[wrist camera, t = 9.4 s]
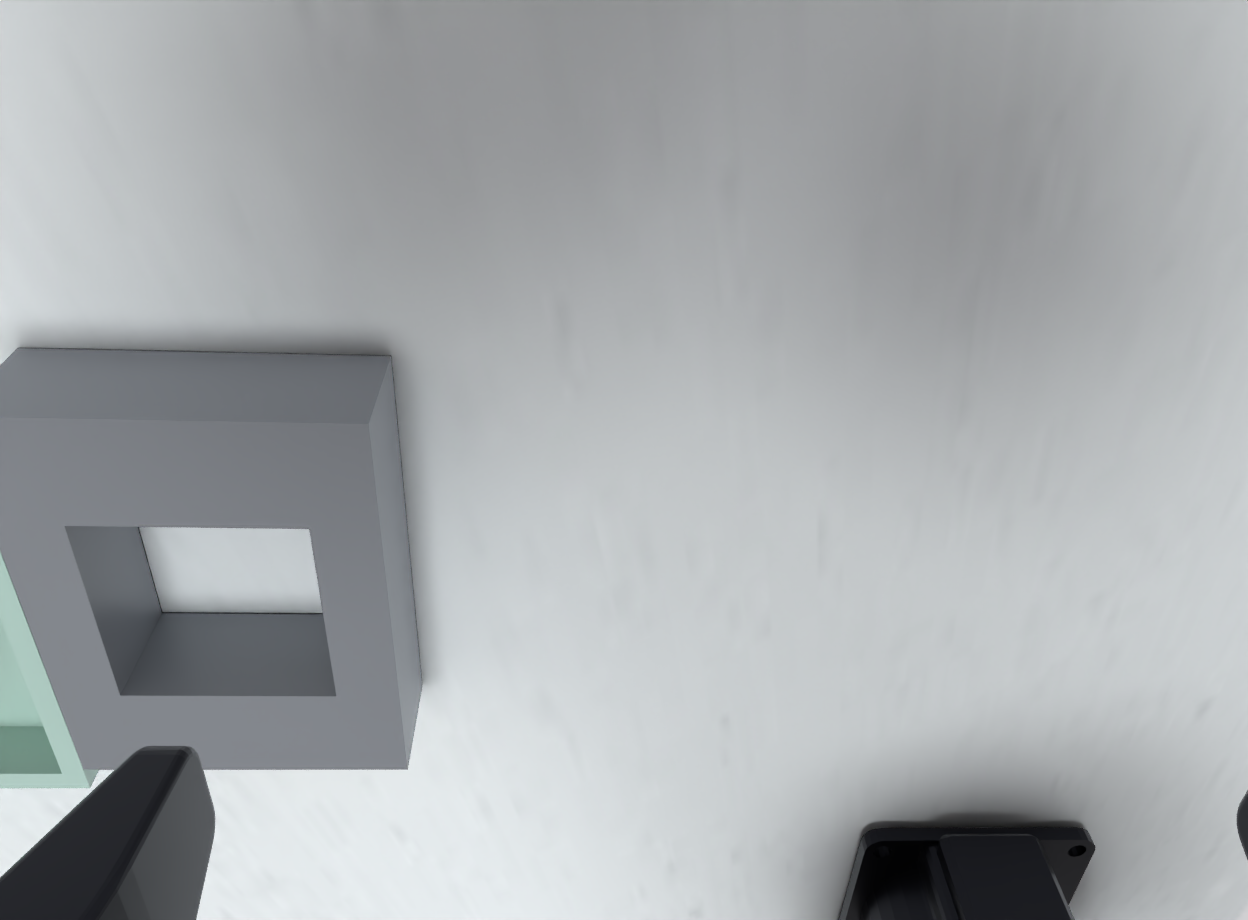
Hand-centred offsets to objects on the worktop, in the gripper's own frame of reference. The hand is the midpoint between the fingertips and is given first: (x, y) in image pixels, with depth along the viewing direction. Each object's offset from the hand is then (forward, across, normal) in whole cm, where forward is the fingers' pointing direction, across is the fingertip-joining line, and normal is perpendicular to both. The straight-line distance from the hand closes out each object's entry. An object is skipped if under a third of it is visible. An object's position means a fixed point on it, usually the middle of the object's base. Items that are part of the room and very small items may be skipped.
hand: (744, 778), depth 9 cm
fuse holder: (+12, +8, +7) cm, 16 cm away
